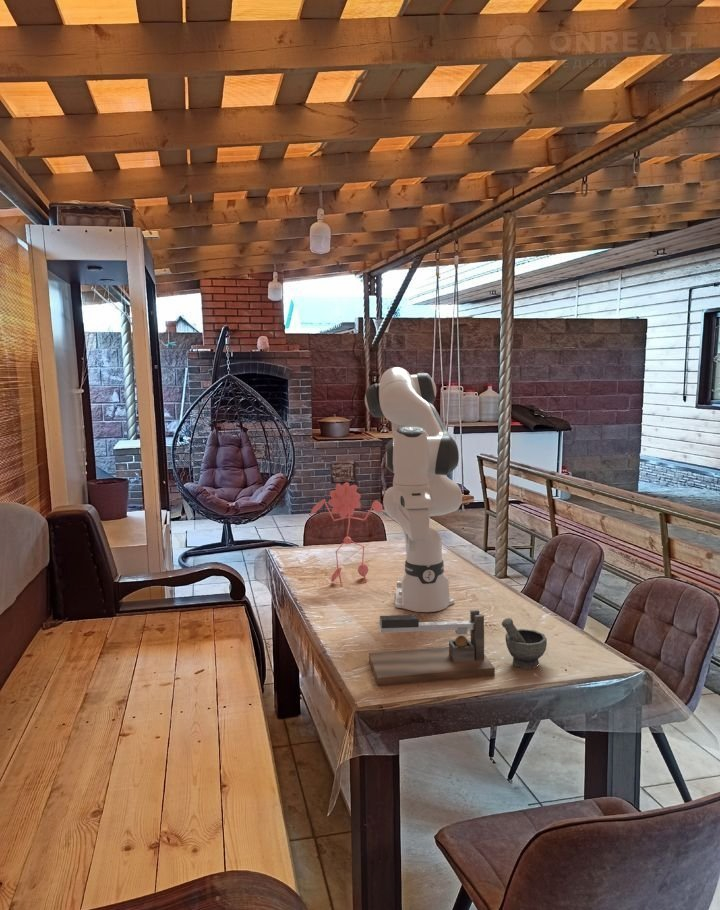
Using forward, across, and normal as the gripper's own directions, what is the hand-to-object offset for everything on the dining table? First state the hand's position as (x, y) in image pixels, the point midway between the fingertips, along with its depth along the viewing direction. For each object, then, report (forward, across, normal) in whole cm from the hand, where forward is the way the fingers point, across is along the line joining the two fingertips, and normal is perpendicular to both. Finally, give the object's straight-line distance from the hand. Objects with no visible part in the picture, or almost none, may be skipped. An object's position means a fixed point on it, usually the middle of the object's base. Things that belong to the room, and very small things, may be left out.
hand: (411, 549), depth 160 cm
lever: (+20, +5, +3) cm, 21 cm away
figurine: (+32, -71, -9) cm, 78 cm away
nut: (+23, +5, +11) cm, 26 cm away
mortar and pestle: (+29, +7, +26) cm, 40 cm away
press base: (+29, +5, +3) cm, 29 cm away
